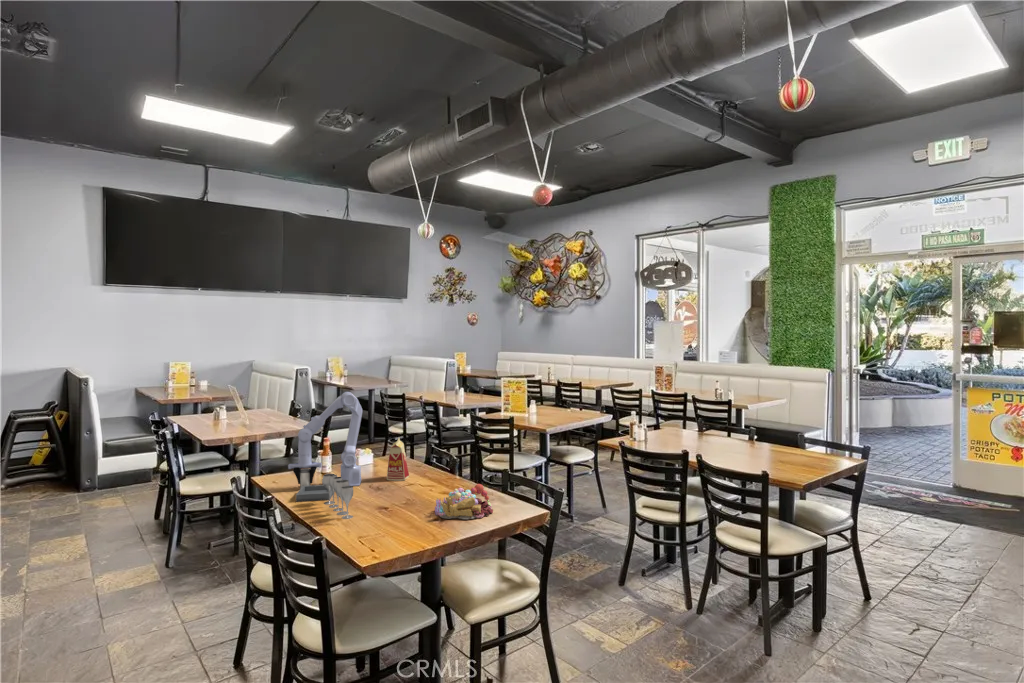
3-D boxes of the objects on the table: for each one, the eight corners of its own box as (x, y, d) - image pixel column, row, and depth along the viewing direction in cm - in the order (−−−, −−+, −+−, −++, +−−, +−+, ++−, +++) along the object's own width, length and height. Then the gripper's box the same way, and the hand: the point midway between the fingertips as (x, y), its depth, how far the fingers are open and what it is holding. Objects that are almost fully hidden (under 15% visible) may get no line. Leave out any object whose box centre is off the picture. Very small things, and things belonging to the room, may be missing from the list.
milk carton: (392, 476, 276) (392, 436, 276) (409, 476, 275) (409, 437, 275) (385, 480, 267) (385, 440, 267) (403, 481, 266) (403, 440, 266)
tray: (334, 490, 250) (334, 484, 250) (329, 499, 237) (329, 493, 237) (302, 492, 248) (302, 485, 248) (296, 501, 234) (295, 494, 234)
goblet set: (356, 517, 214) (356, 483, 214) (342, 520, 211) (341, 486, 210) (334, 500, 237) (333, 469, 236) (320, 502, 233) (320, 471, 233)
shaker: (311, 487, 257) (311, 468, 257) (309, 490, 252) (309, 470, 252) (301, 487, 256) (301, 468, 256) (299, 490, 251) (298, 471, 251)
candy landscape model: (496, 519, 211) (496, 496, 211) (435, 523, 207) (435, 499, 207) (488, 500, 236) (488, 479, 236) (433, 503, 232) (433, 481, 232)
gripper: (322, 451, 259) (323, 480, 259) (290, 453, 257) (290, 481, 257) (320, 454, 252) (320, 484, 252) (287, 456, 250) (287, 485, 250)
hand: (305, 483), depth 254 cm, fingers closed on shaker, 5 cm apart
